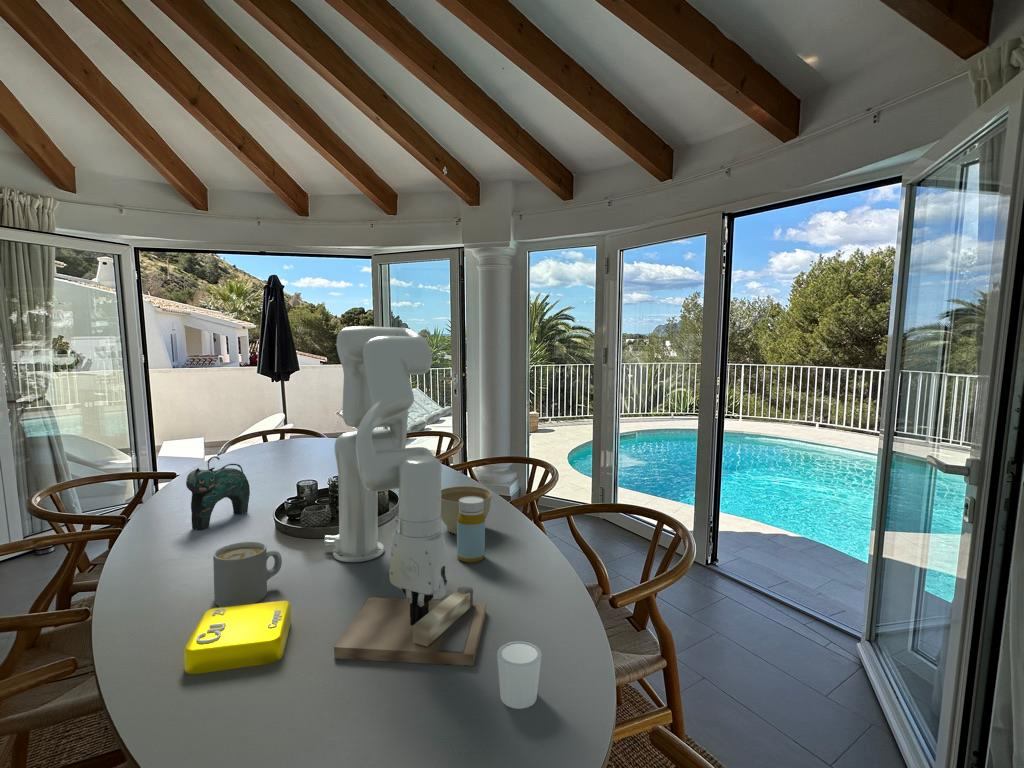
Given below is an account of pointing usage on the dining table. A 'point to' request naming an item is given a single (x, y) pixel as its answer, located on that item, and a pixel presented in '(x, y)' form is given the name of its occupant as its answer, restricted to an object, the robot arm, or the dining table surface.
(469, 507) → the bottle
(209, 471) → the ceramic cat
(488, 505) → the planter bowl
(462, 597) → the folding leg
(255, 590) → the coffee mug
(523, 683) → the shot glass
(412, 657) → the stool seat
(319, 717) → the dining table surface
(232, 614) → the element tile
